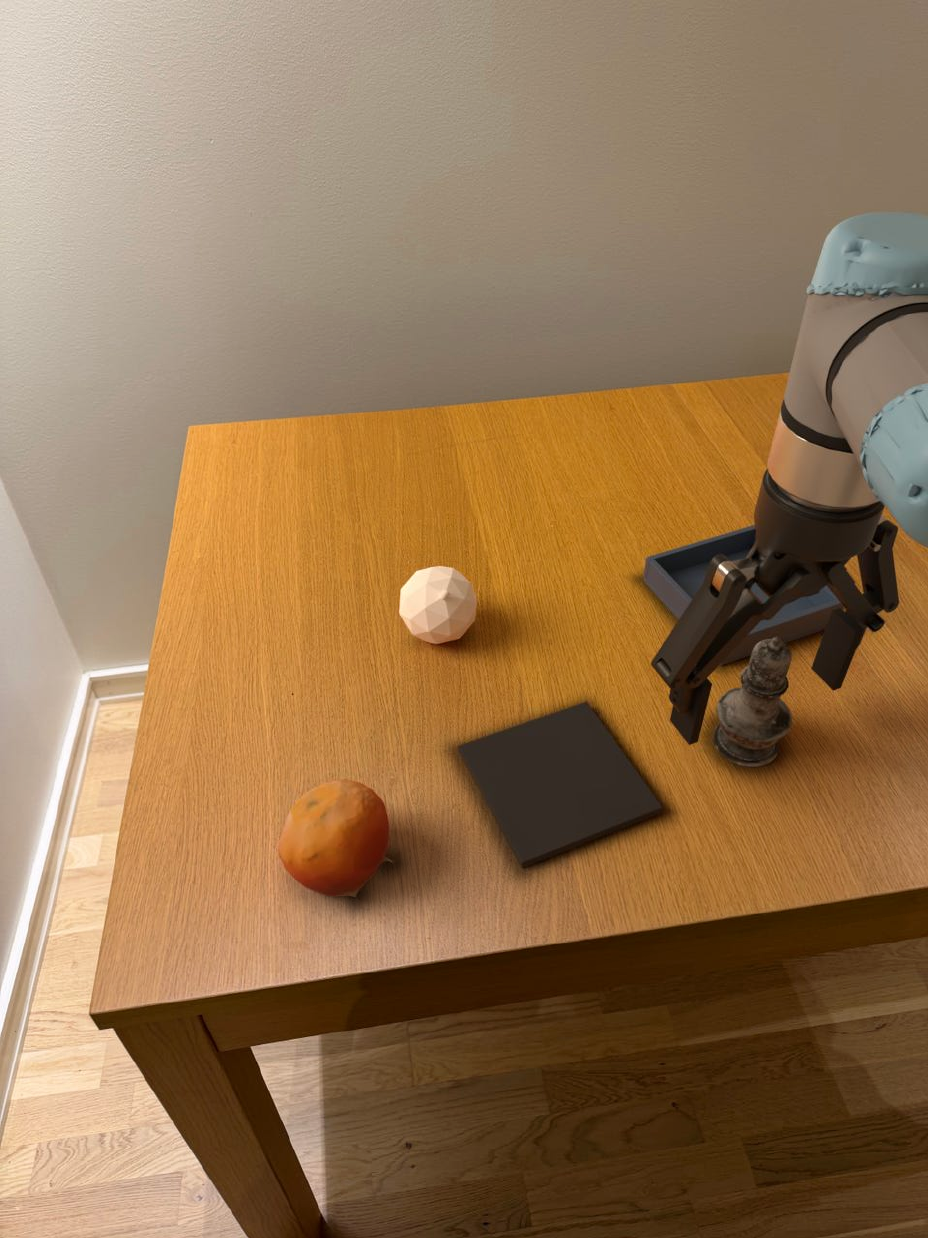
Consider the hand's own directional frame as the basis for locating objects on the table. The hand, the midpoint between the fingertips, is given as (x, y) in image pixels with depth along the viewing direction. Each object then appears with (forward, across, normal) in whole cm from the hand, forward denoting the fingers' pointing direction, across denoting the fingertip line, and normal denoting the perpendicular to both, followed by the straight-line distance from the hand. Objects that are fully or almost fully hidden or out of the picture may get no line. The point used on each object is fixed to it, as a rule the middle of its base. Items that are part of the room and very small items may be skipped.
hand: (756, 704), depth 70 cm
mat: (+5, +16, -3) cm, 17 cm away
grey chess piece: (+5, 0, 0) cm, 5 cm away
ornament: (+5, +18, -23) cm, 29 cm away
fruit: (+5, +34, -3) cm, 35 cm away
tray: (+5, -10, -15) cm, 18 cm away
